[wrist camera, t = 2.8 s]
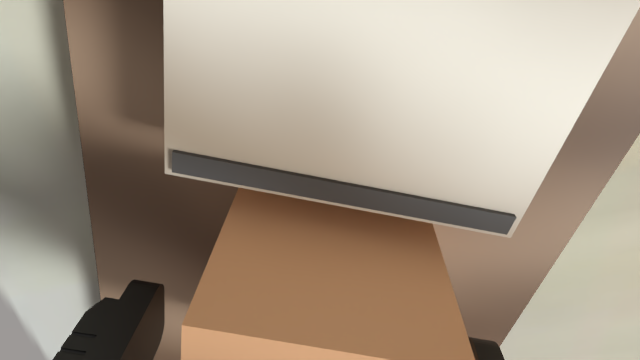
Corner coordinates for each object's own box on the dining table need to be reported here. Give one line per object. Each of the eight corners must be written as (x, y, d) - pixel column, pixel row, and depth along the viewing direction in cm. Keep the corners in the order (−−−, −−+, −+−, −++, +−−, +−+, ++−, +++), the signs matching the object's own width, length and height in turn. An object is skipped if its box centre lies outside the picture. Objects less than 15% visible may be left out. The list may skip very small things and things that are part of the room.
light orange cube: (245, 171, 11) (182, 324, 7) (427, 205, 11) (479, 374, 7) (228, 320, 14) (178, 491, 10) (371, 344, 14) (383, 520, 10)
